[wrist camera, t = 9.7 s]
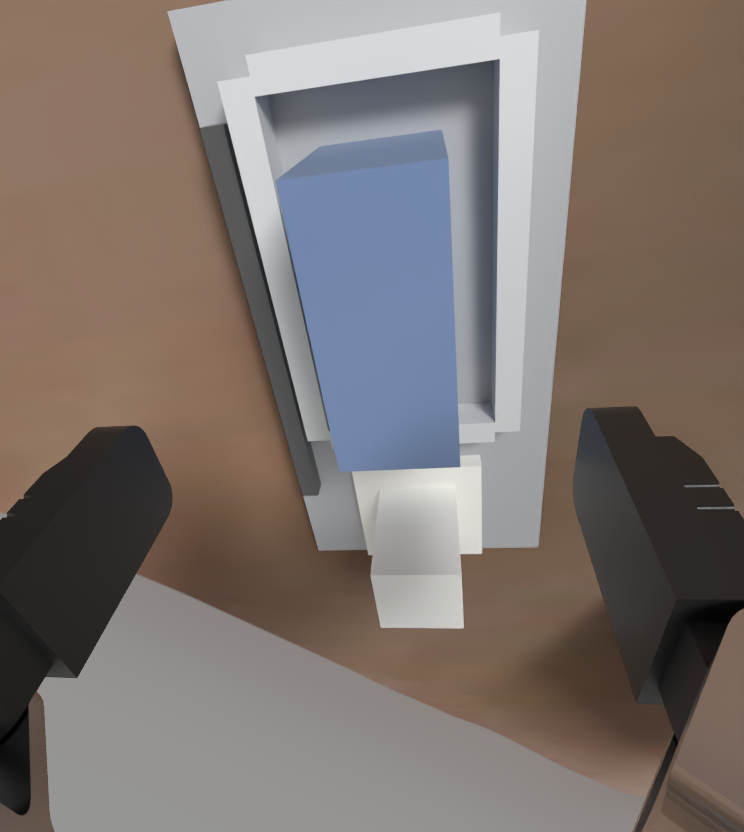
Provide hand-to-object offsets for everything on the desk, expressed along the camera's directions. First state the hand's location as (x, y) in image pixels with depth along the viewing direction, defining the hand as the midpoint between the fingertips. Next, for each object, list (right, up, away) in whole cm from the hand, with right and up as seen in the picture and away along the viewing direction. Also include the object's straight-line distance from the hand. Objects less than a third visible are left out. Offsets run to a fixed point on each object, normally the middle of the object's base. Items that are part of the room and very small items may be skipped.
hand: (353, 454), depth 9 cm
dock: (+2, +4, +12) cm, 13 cm away
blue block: (+1, +6, +10) cm, 11 cm away
